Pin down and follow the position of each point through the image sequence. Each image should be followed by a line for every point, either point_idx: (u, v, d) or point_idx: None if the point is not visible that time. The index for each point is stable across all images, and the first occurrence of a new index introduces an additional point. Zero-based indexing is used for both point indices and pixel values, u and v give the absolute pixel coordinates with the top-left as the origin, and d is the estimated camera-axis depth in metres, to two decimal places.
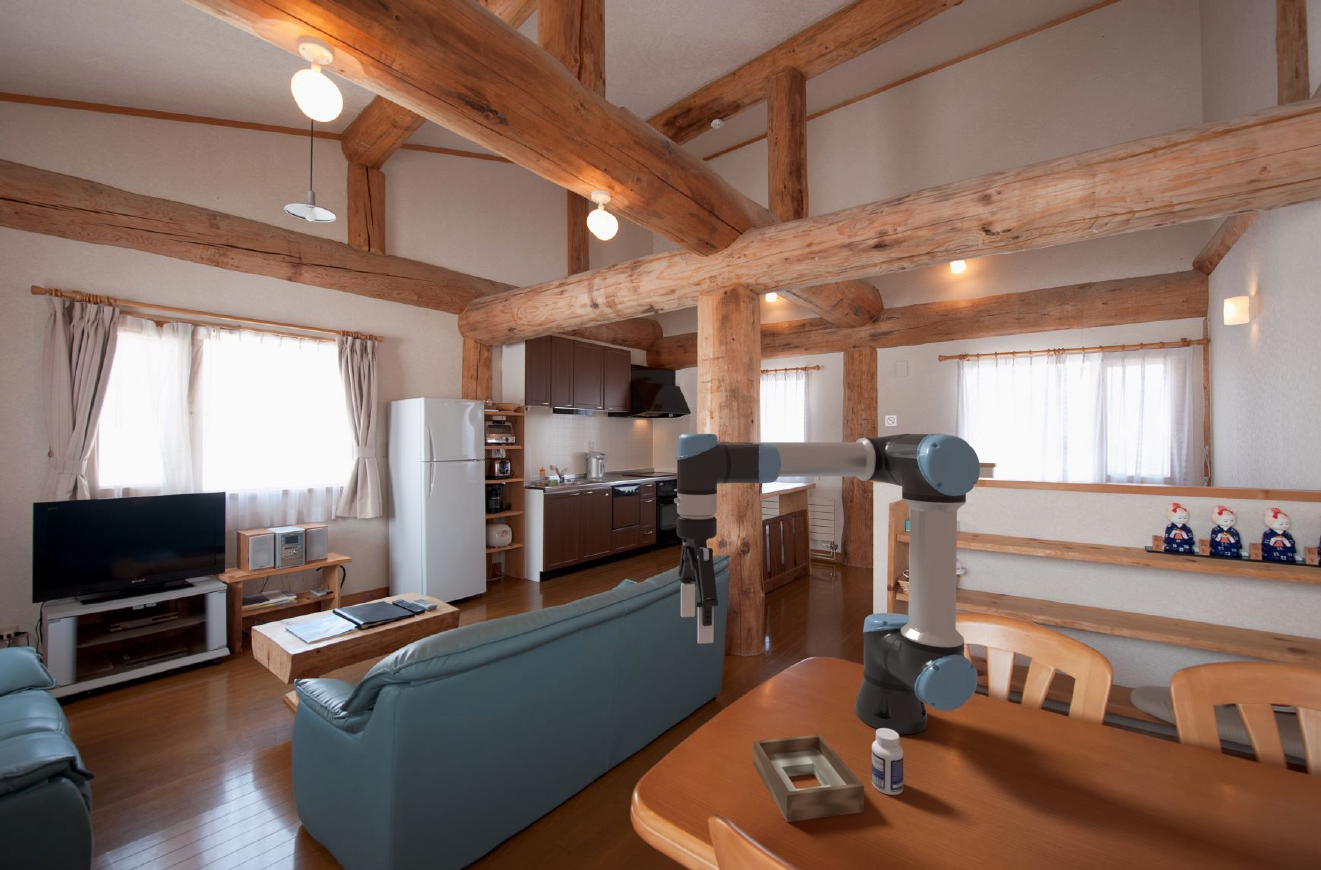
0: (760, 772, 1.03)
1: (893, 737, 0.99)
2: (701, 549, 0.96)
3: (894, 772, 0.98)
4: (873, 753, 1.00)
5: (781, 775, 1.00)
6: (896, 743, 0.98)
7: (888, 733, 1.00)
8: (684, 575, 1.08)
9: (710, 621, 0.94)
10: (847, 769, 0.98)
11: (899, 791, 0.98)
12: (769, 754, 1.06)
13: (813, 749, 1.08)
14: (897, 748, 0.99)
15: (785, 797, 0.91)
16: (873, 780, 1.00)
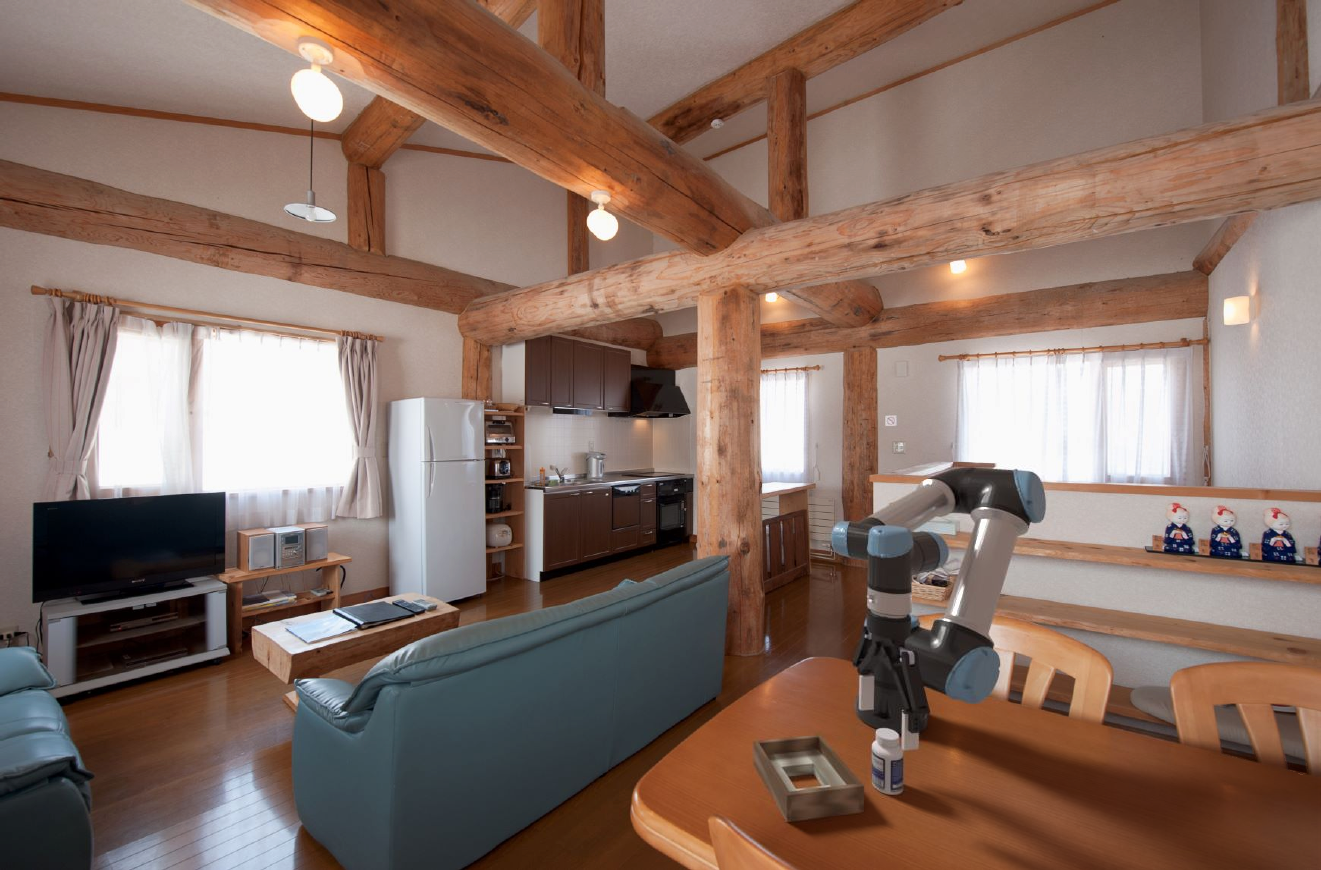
0: (760, 772, 1.03)
1: (893, 737, 0.99)
2: (906, 652, 0.93)
3: (894, 772, 0.98)
4: (873, 753, 1.00)
5: (781, 775, 1.00)
6: (896, 743, 0.98)
7: (888, 733, 1.00)
8: (865, 668, 1.05)
9: (918, 728, 0.92)
10: (847, 769, 0.98)
11: (899, 791, 0.98)
12: (769, 754, 1.06)
13: (813, 749, 1.08)
14: (897, 748, 0.99)
15: (785, 797, 0.91)
16: (873, 780, 1.00)
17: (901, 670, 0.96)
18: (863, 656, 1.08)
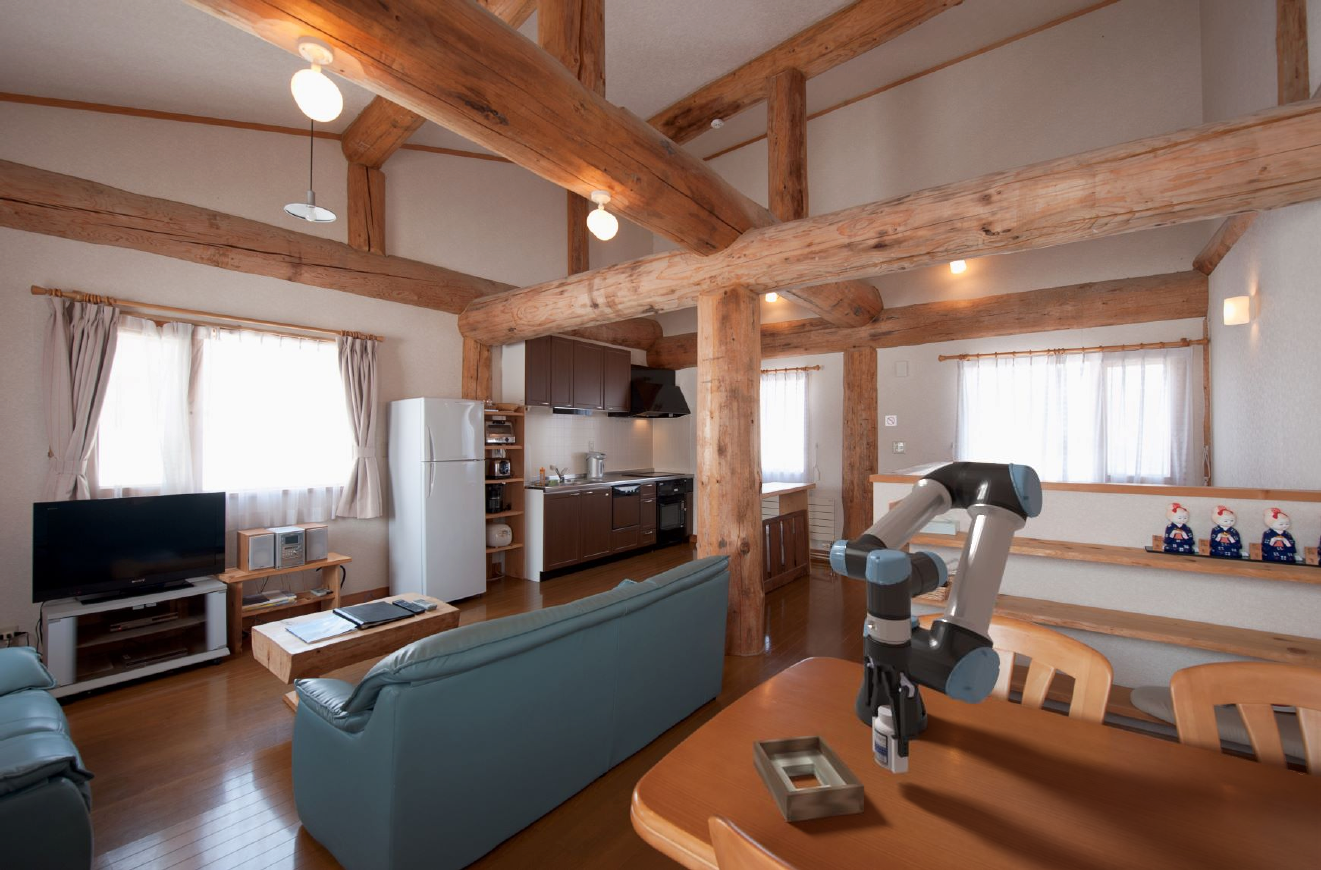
0: (760, 772, 1.03)
1: None
2: (907, 688, 0.94)
3: None
4: (876, 729, 1.00)
5: (781, 775, 1.00)
6: None
7: (890, 710, 1.00)
8: (876, 704, 1.03)
9: (907, 753, 0.96)
10: (847, 769, 0.98)
11: None
12: (769, 754, 1.06)
13: (813, 749, 1.08)
14: None
15: (785, 797, 0.91)
16: (876, 756, 1.00)
17: (898, 697, 0.97)
18: (873, 691, 1.05)
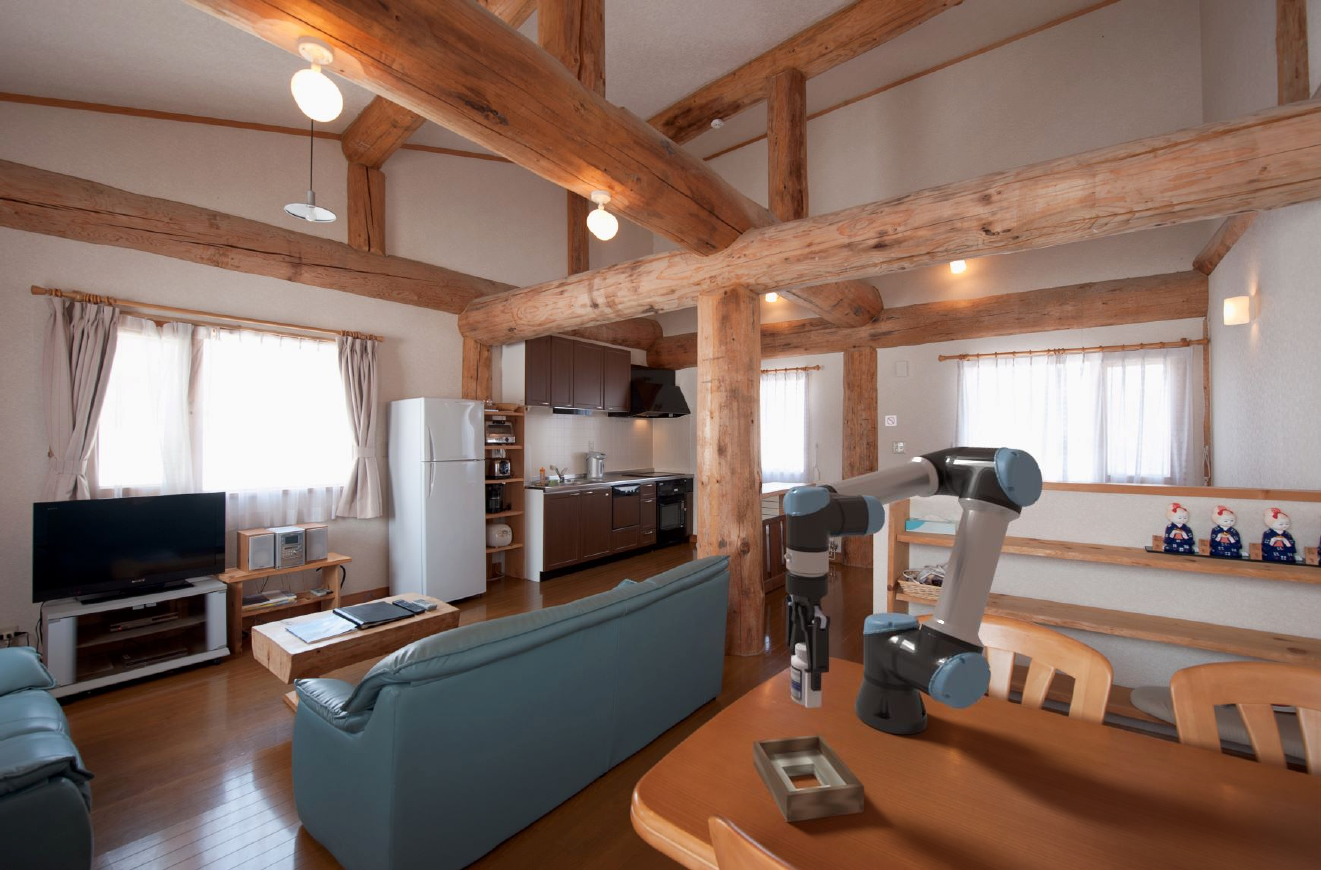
0: (760, 772, 1.03)
1: None
2: (819, 619, 0.93)
3: None
4: (792, 665, 0.99)
5: (781, 775, 1.00)
6: None
7: None
8: (794, 642, 1.02)
9: (819, 686, 0.95)
10: (847, 769, 0.98)
11: None
12: (769, 754, 1.06)
13: (813, 749, 1.08)
14: None
15: (785, 797, 0.91)
16: (791, 693, 0.99)
17: (813, 631, 0.97)
18: None
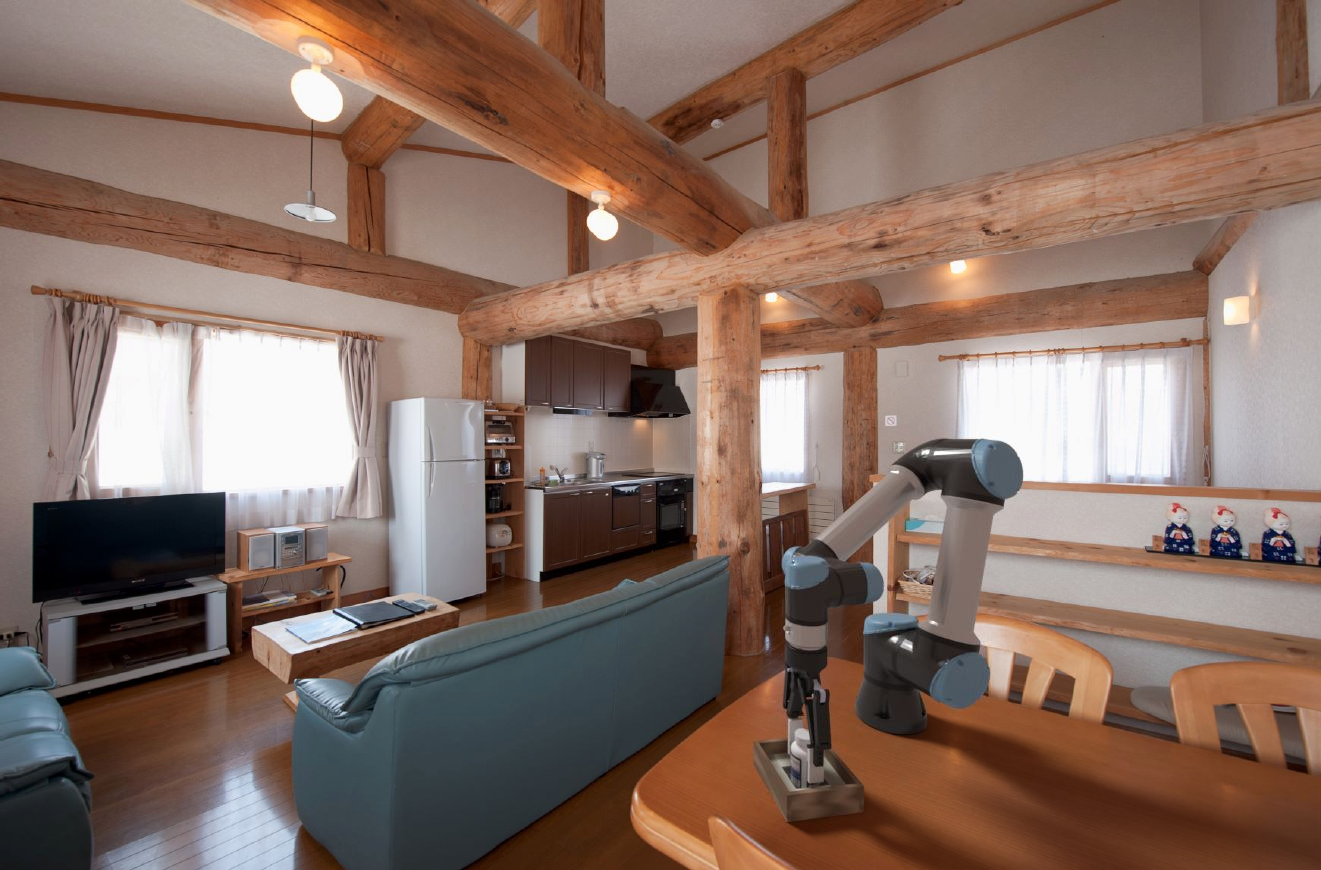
0: (760, 772, 1.03)
1: None
2: (818, 692, 0.93)
3: None
4: (791, 753, 1.00)
5: (781, 775, 1.00)
6: None
7: (806, 733, 1.00)
8: (792, 708, 1.03)
9: (822, 762, 0.94)
10: (847, 769, 0.98)
11: None
12: (769, 754, 1.06)
13: None
14: None
15: (785, 797, 0.91)
16: (791, 780, 1.00)
17: (813, 704, 0.97)
18: None
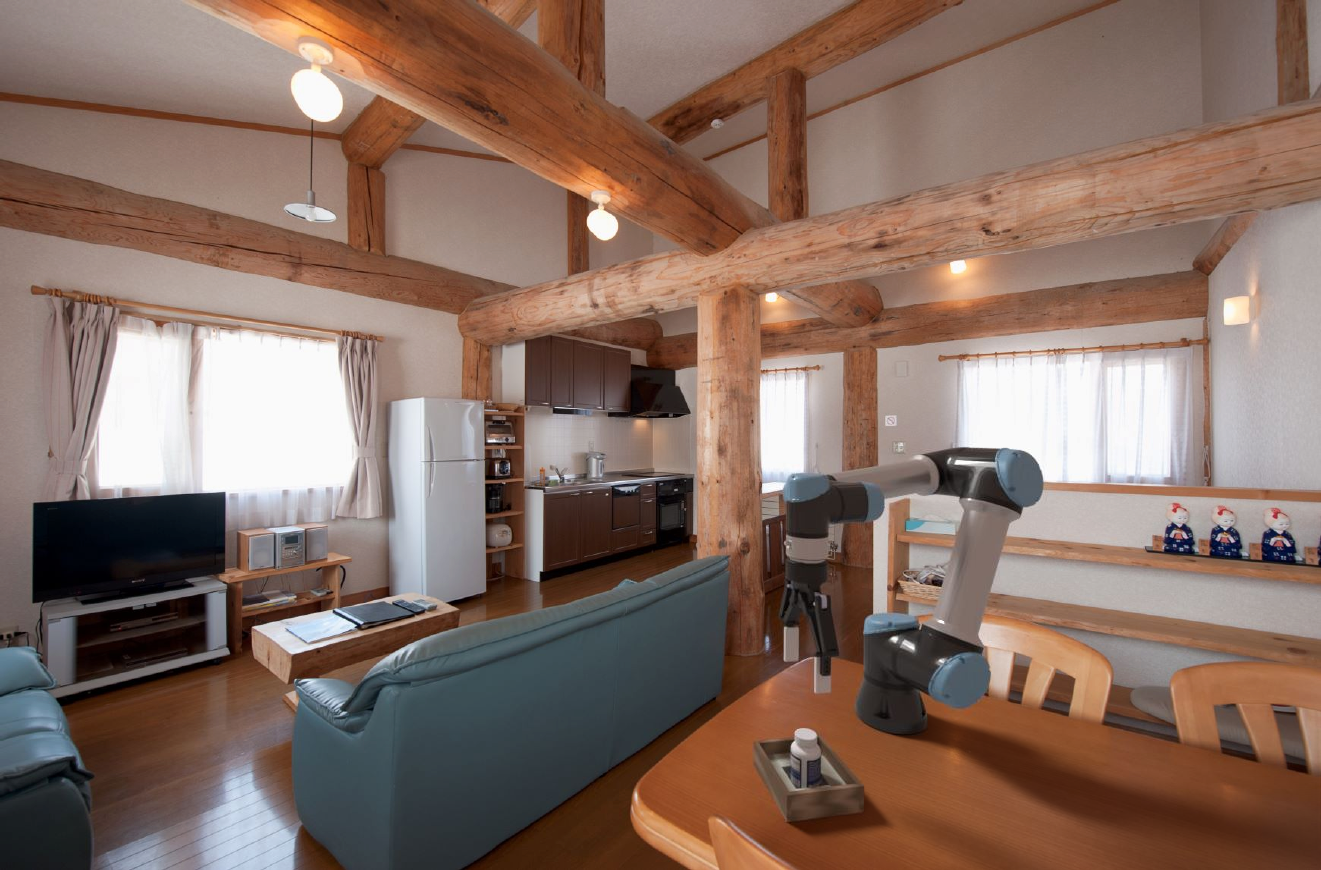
0: (760, 772, 1.03)
1: (811, 737, 0.99)
2: (819, 597, 0.93)
3: (811, 772, 0.97)
4: (791, 753, 1.00)
5: (781, 775, 1.00)
6: (813, 743, 0.98)
7: (806, 733, 1.00)
8: (788, 618, 1.05)
9: (829, 671, 0.92)
10: (847, 769, 0.98)
11: None
12: (769, 754, 1.06)
13: None
14: (814, 748, 0.99)
15: (785, 797, 0.91)
16: (791, 780, 1.00)
17: (816, 615, 0.96)
18: (788, 607, 1.07)
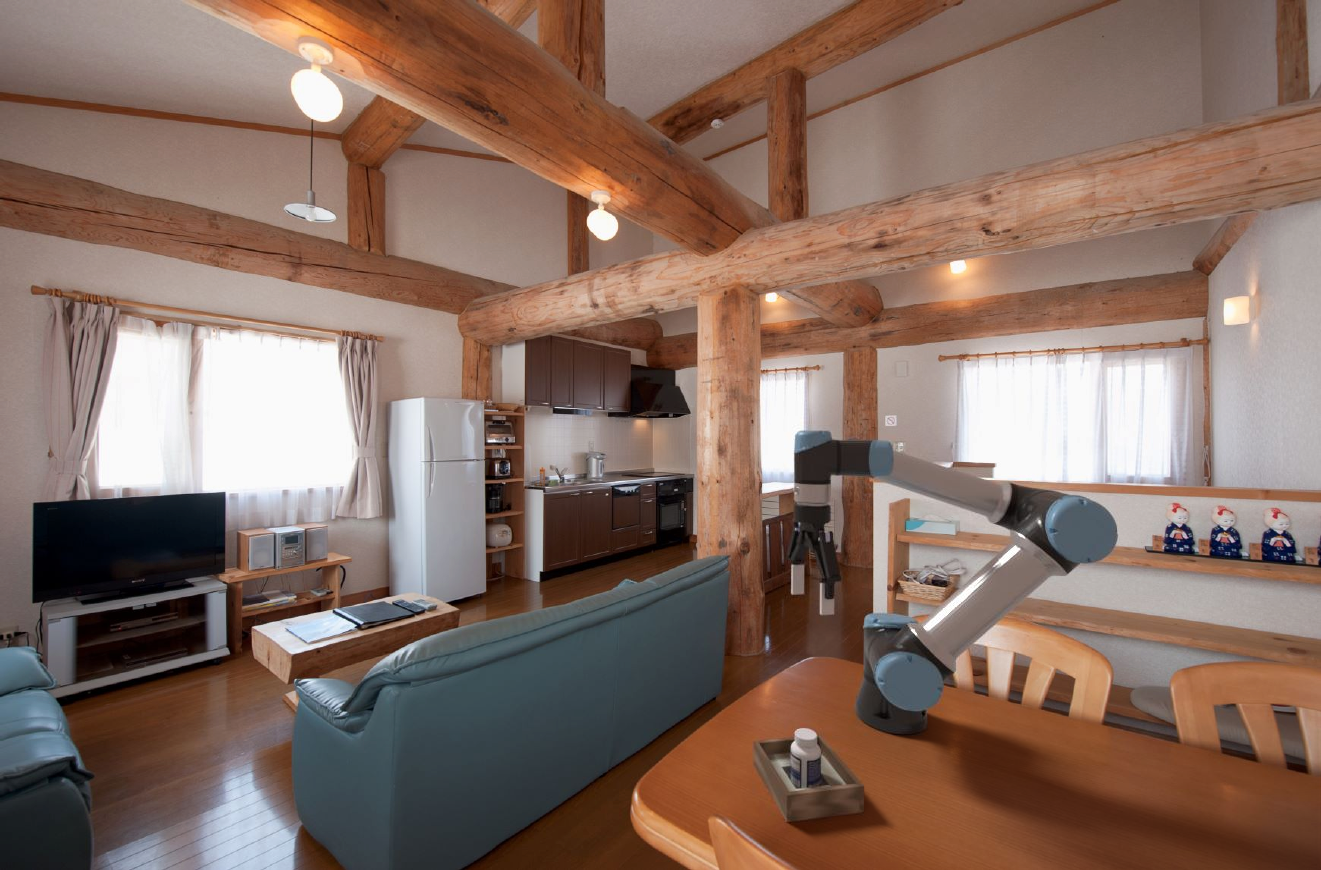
0: (760, 772, 1.03)
1: (811, 737, 0.99)
2: (823, 532, 1.09)
3: (811, 772, 0.97)
4: (791, 753, 1.00)
5: (781, 775, 1.00)
6: (813, 743, 0.98)
7: (806, 733, 1.00)
8: (795, 557, 1.21)
9: (833, 595, 1.07)
10: (847, 769, 0.98)
11: None
12: (769, 754, 1.06)
13: None
14: (814, 748, 0.99)
15: (785, 797, 0.91)
16: (791, 780, 1.00)
17: (820, 549, 1.11)
18: (795, 548, 1.23)
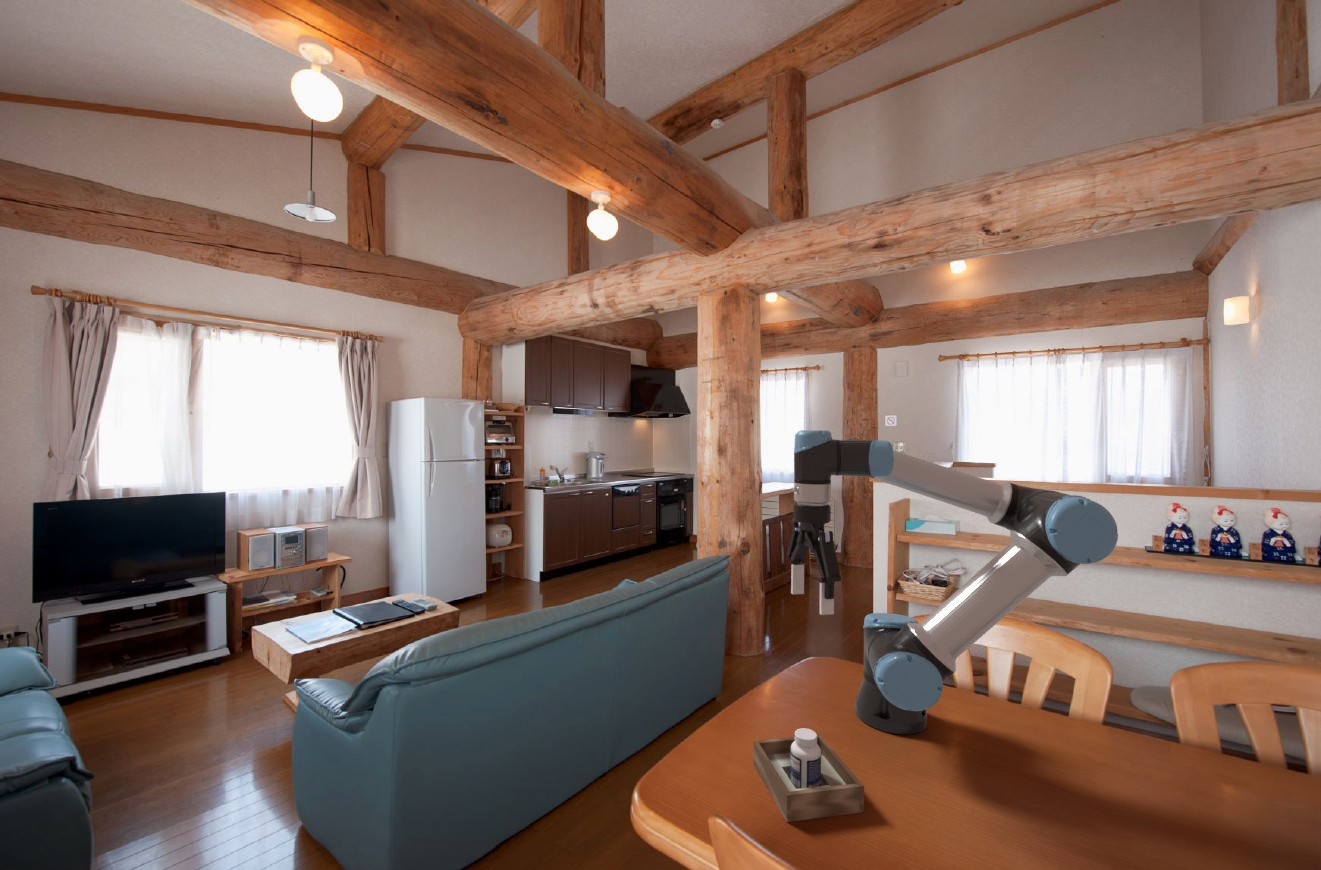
0: (760, 772, 1.03)
1: (811, 737, 0.99)
2: (823, 532, 1.09)
3: (811, 772, 0.97)
4: (791, 753, 1.00)
5: (781, 775, 1.00)
6: (813, 743, 0.98)
7: (806, 733, 1.00)
8: (795, 557, 1.21)
9: (832, 595, 1.07)
10: (847, 769, 0.98)
11: None
12: (769, 754, 1.06)
13: None
14: (814, 748, 0.99)
15: (785, 797, 0.91)
16: (791, 780, 1.00)
17: (820, 549, 1.11)
18: (795, 548, 1.23)
